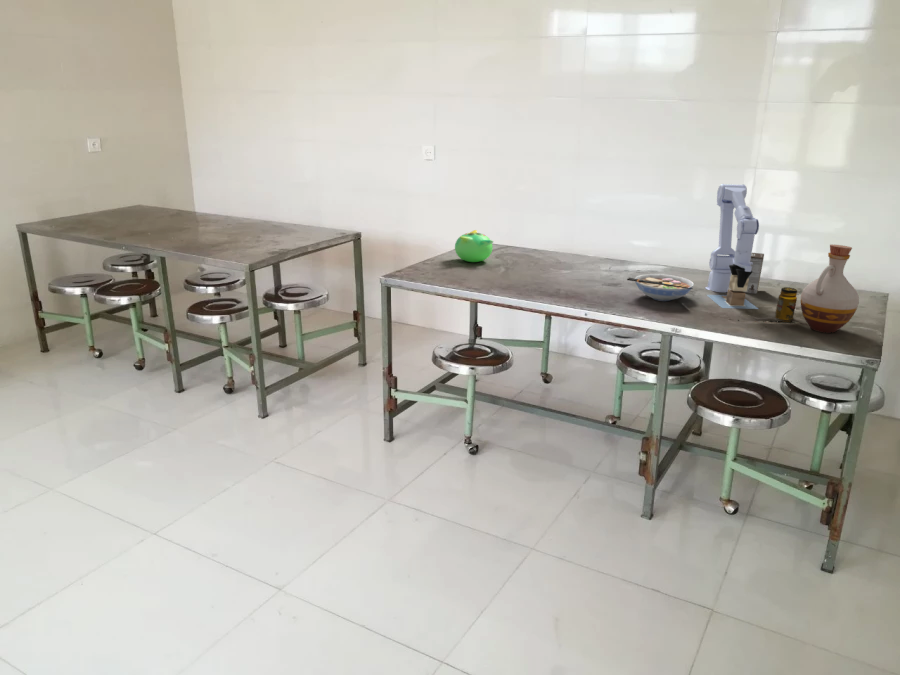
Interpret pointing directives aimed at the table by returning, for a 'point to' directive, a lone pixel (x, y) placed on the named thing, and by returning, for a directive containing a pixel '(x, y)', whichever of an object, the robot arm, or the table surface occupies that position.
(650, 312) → the table surface
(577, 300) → the table surface
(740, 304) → the walnut cube
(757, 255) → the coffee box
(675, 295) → the ramen bowl
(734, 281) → the maple cube
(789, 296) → the condiment
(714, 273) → the robot arm
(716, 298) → the board
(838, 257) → the jug
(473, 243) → the green teapot
